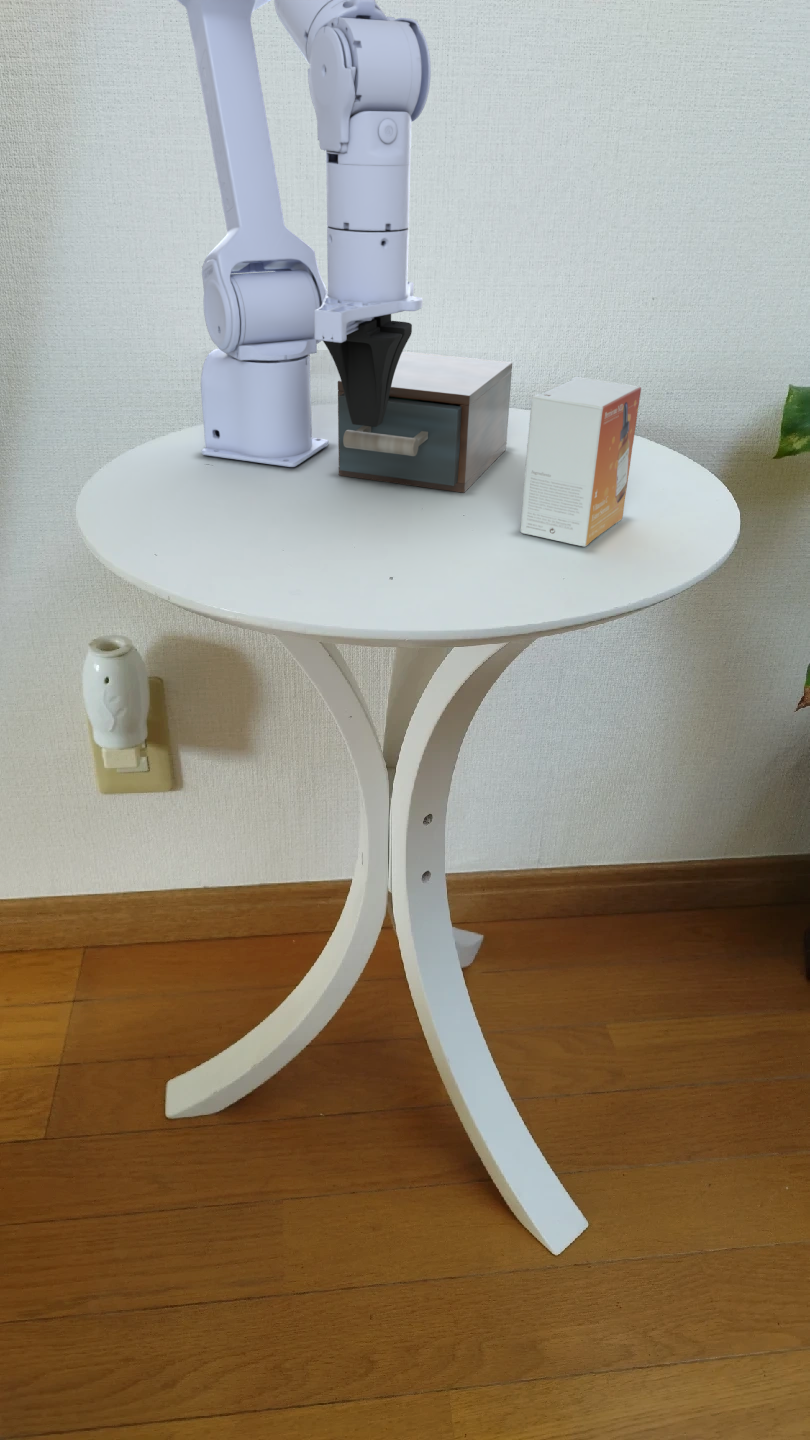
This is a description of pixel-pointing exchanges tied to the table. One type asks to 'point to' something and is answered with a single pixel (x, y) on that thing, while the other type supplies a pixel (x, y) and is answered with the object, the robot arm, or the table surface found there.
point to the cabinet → (473, 389)
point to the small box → (578, 459)
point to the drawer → (404, 442)
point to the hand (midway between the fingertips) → (367, 423)
